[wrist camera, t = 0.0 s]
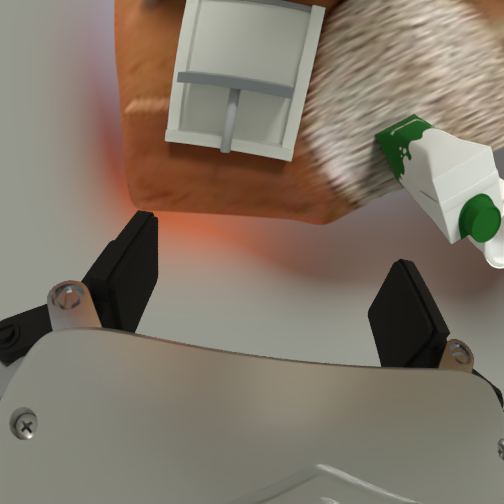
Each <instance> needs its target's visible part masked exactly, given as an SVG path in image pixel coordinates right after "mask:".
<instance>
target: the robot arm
mask: <svg viewBox="0 0 504 504" xmlns="http://www.w3.org/2000/svg"><path fill="white" fill-rule="evenodd" d="M157 279H158V218H157V217H154V214H153V213H152V212H146V211H140V210H138V211H137V212H136V214H135V215H134V216H133V218H132V219H131V220H130V221H129V223H128V224H127V225H126V226H125V228H124V229H123V230H122V232H121V233H120V234H119V236H118V237H117V238H116V239H115V240H112V241H111V242H110V243H109V244H108V245H107V246H106V248H105V249H104V250H103V252H102V253H101V254H100V256H99V257H98V258H97V260H96V261H95V263H94V264H93V265H92V267H91V268H90V270H89V271H88V272H87V274H86V275H85V277H84V278H83V280H82V281H81V282H79V281H73V280H69V281H64V282H61V283H59V284H57V285H56V286H54V287H53V288H52V289H51V290H50V292H49V294H48V296H47V304H45V305H42V306H40V307H37V308H34V309H31V310H28V311H26V312H23V313H20V314H17V315H15V316H12V317H9V318H6V319H4V320H2V321H0V504H504V410H503V404H504V402H503V397H502V393H501V391H500V390H499V389H498V388H496V387H495V386H494V385H492V384H491V383H490V382H489V381H488V380H487V379H486V378H484V377H483V376H482V375H480V374H479V373H478V372H477V371H476V370H474V369H473V364H474V357H473V354H472V352H471V350H470V349H469V347H468V346H467V345H466V344H465V343H463V342H462V341H460V340H457V339H451V340H449V341H448V342H447V339H446V338H447V337H448V335H449V334H450V332H449V330H448V328H447V325H446V323H445V321H444V320H443V317H442V315H441V313H440V311H439V309H438V307H437V305H436V303H435V301H434V299H433V297H432V295H431V293H430V292H429V289H428V288H427V286H426V284H425V282H424V281H423V278H422V277H421V275H420V273H419V271H418V270H417V268H416V266H415V264H414V263H413V262H412V261H408V260H404V259H399V260H398V261H397V262H394V264H393V265H392V267H391V269H390V272H389V273H388V275H387V277H386V279H385V281H384V283H383V284H382V286H381V288H380V290H379V292H378V294H377V296H376V298H375V299H374V301H373V303H372V305H371V306H370V308H369V311H368V318H369V322H370V326H371V329H372V333H373V336H374V340H375V344H376V347H377V351H378V355H379V358H380V362H381V367H374V366H357V365H341V364H329V363H318V362H307V361H298V360H289V359H281V358H273V357H265V356H258V355H250V354H244V353H237V352H230V351H225V350H219V349H213V348H207V347H201V346H197V345H191V344H186V343H181V342H176V341H170V340H165V339H161V338H156V337H151V336H146V335H141V334H136V333H135V331H136V329H137V326H138V324H139V321H140V319H141V317H142V314H143V312H144V310H145V307H146V305H147V303H148V301H149V298H150V296H151V294H152V291H153V289H154V287H155V285H156V282H157Z"/></svg>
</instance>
